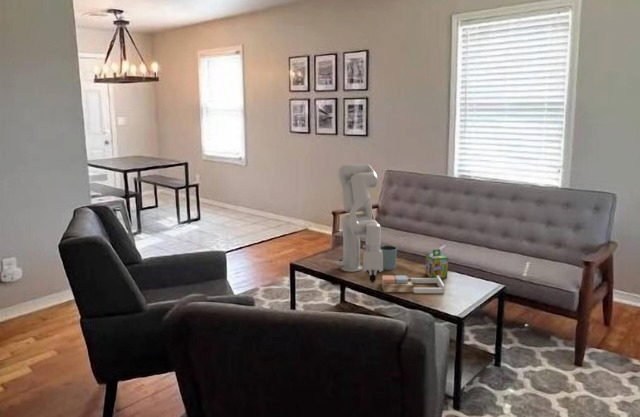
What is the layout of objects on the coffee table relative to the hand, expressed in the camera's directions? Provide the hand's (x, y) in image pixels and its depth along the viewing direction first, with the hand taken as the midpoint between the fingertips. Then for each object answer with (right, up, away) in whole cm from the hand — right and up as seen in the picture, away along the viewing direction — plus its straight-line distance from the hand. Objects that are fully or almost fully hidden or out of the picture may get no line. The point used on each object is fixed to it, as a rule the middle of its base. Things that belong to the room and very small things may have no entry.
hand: (372, 281), depth 259 cm
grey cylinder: (+12, +3, +32) cm, 34 cm away
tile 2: (+15, -1, 0) cm, 15 cm away
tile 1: (+8, -1, 0) cm, 8 cm away
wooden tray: (+13, -3, 0) cm, 13 cm away
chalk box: (+37, 0, +17) cm, 41 cm away
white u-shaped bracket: (+28, -3, 0) cm, 28 cm away
